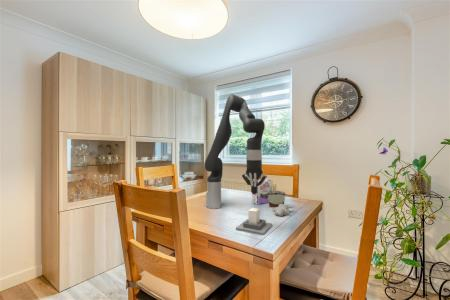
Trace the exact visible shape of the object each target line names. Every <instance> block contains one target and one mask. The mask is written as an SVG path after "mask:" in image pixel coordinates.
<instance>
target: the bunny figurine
mask: <svg viewBox="0 0 450 300" xmlns="http://www.w3.org/2000/svg"><path fill="white" fill-rule="evenodd" d="M289 209H293V205H292V204H289V205H287V204H285V203H284V204H279V206H278V207H275V208H272V212H273V213H274V215H275V216H277V217H284V215H289V214H290V210H289Z"/></svg>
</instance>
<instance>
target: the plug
mask: <svg viewBox="0 0 450 300" xmlns="http://www.w3.org/2000/svg"><path fill="white" fill-rule="evenodd" d="M260 210H261V209H260V208H256V207H251V208H250V209H248V219H249V223H250V224H256V225H258V224H259V223H260V219H261V218H260V217H261V215H260V213H261V211H260Z"/></svg>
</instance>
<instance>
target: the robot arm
mask: <svg viewBox="0 0 450 300" xmlns="http://www.w3.org/2000/svg"><path fill="white" fill-rule="evenodd" d="M231 111H233V112H235V113H238V116H239V120H240V121H241V122H242V129H243V131H244V132H246V133H247V134H255V135H254V136H253V137H248V138H247V140H246V157H245V158H246V159H245V160H246V170H245V173H243V174H241V177H242V179H243V180H244V182H245V183H246V184H247V185H248V186H250V187H251V188H250V192H251V194H252V195H253V194H256V193H257V192H258V186H259V185H261V184H262V183H263V182H264V180H265V179H268V178H267V177H268V175H267V174H266V175H265V174H264V171H263V164H262V163H263V160H262V159H263V153H262V138H263V136H264V135H263V134H264V131H265V127H266V126H265V121H264V120H263V119H262V118H256V116H255V115H254V114H253V112H252V111H251V110H250V108H249V106H248V103H247V101H246V100H245V98H243V97H241V96H238V95H235V94H232V93H231V94H229V95H228V97H227V99H226V101H225V105H224V110H223V113H222V116H221V119H220V122H219V125H218V128H217V130H216V133H215V135H214V136H215V137H214V139H213V142H212V145H211V148H210V150H209V153H208V154H207V156H206V159H205V162H204V169H205V170H206V172H210V174H209V175H208V176H207V178H206V179H207V180H206V181H207V183H206V184H207V185H206V186H207V191H206V193H205V196H206V197H205V199H206V200H205V201H206V204H205V205H206V208H208V209H210V210H211V209H212V210H215V209H220V208H222V177H223V166H224V165H223V161H222V158H220V157H219V156H220V155H221V152H222V151H223V150H224V149H225V148H226V147H227V145H228V143H229V141H230V139H231V136H232V135H233V134H232V132H233V131H232V130H233V129H232V125H231V121H230V117H231V116H230V115H231ZM259 180H260V181H259ZM258 181H259V182H258Z"/></svg>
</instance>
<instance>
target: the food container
mask: <svg viewBox="0 0 450 300" xmlns="http://www.w3.org/2000/svg"><path fill="white" fill-rule="evenodd" d="M267 195H268V201H269V203H268V207H269V208H272V209H273V208H275V207H278V206H279V204H284V205H285V198H286V196H287V195H286V192H285V191H281V190H272V191H269V192H268V193H267Z"/></svg>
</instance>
